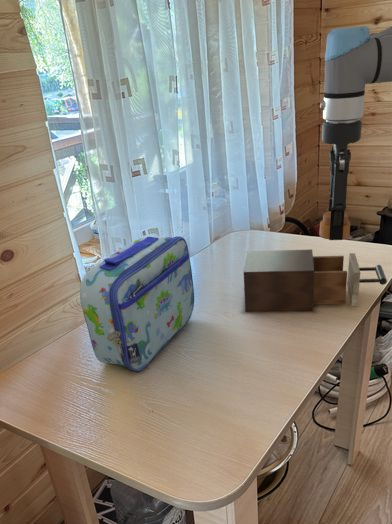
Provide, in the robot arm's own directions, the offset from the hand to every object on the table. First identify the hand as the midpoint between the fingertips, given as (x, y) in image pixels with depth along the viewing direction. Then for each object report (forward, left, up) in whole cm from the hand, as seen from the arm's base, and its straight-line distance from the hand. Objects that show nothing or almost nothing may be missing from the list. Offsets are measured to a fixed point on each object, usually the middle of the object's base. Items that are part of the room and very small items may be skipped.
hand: (334, 233), depth 113 cm
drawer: (-1, +6, -12) cm, 14 cm away
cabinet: (+12, +6, -13) cm, 19 cm away
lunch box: (+38, +25, -13) cm, 47 cm away
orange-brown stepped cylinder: (0, 0, 0) cm, 0 cm away
